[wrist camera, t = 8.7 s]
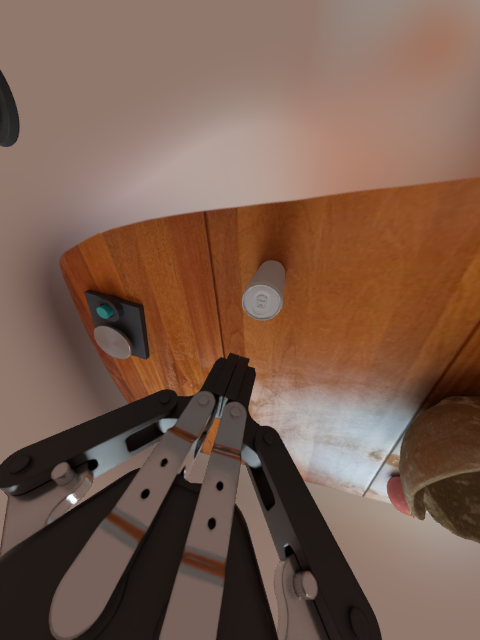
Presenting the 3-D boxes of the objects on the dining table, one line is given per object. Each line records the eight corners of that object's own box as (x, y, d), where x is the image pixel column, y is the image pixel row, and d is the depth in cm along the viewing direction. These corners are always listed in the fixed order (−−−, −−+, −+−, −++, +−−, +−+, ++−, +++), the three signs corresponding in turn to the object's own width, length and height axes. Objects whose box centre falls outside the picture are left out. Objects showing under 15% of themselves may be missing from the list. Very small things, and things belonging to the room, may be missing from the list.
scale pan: (92, 319, 44) (88, 321, 43) (129, 331, 43) (126, 332, 42) (101, 350, 49) (99, 352, 48) (135, 361, 48) (132, 363, 47)
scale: (88, 286, 43) (76, 290, 40) (142, 302, 41) (132, 307, 39) (104, 341, 52) (95, 348, 49) (149, 356, 50) (142, 363, 48)
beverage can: (255, 284, 33) (238, 316, 23) (260, 256, 30) (243, 279, 20) (281, 290, 32) (276, 325, 22) (289, 262, 30) (287, 288, 19)
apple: (379, 470, 51) (392, 509, 44) (412, 471, 48) (432, 513, 41) (385, 484, 53) (398, 523, 46) (417, 485, 50) (436, 528, 43)
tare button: (101, 302, 41) (94, 305, 39) (112, 306, 40) (106, 309, 39) (104, 313, 42) (98, 316, 41) (114, 316, 42) (109, 320, 41)
